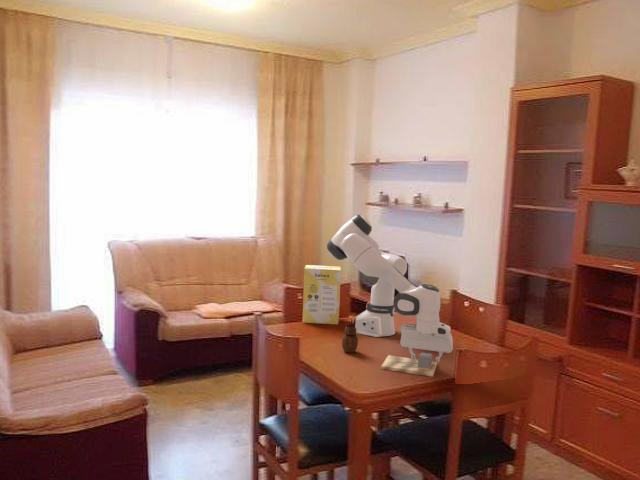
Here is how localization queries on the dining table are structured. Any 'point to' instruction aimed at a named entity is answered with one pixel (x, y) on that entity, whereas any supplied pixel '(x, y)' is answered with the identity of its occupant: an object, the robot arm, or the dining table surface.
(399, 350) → the dining table surface
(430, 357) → the sanding block
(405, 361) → the board
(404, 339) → the robot arm
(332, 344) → the dining table surface
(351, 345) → the wooden figurine
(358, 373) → the dining table surface
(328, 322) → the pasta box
